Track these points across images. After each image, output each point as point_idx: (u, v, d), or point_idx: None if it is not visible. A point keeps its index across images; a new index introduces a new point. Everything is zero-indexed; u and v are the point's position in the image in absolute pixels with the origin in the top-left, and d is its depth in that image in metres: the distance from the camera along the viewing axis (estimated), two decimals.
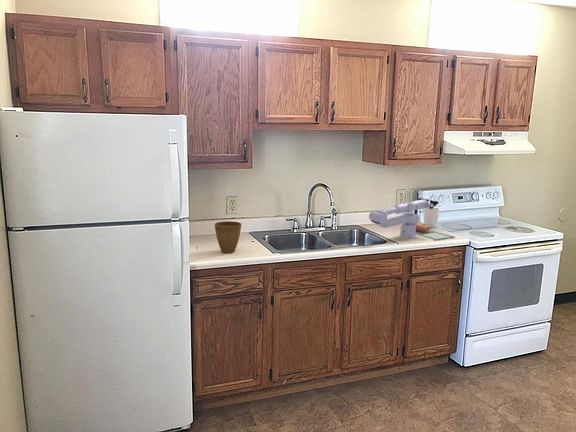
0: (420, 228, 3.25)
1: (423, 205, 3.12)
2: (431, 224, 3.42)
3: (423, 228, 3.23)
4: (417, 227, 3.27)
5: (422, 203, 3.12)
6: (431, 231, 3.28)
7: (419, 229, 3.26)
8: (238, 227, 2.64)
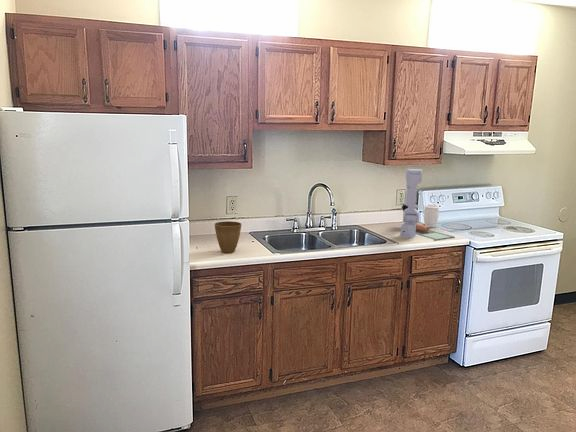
0: (420, 228, 3.25)
1: None
2: (431, 224, 3.42)
3: (423, 228, 3.23)
4: (417, 227, 3.27)
5: None
6: (431, 231, 3.28)
7: (419, 229, 3.26)
8: (238, 227, 2.64)
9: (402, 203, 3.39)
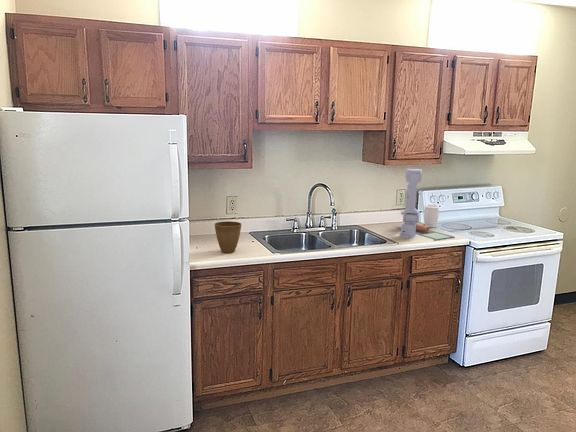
0: (420, 228, 3.25)
1: None
2: (431, 224, 3.42)
3: (423, 228, 3.23)
4: (417, 227, 3.27)
5: None
6: (431, 231, 3.28)
7: (419, 229, 3.26)
8: (238, 227, 2.64)
9: (402, 212, 3.40)
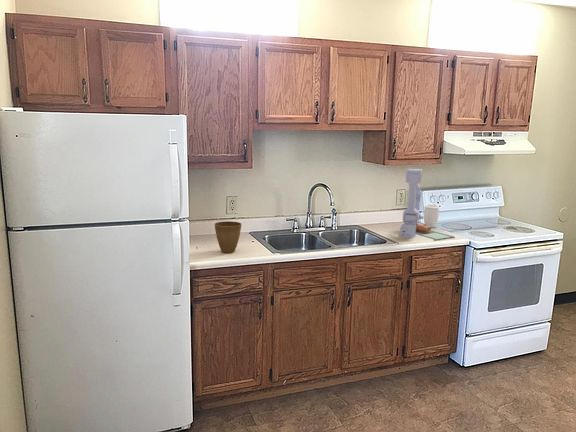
0: (421, 228, 3.24)
1: None
2: (431, 224, 3.42)
3: (424, 228, 3.22)
4: (418, 227, 3.27)
5: (418, 210, 3.29)
6: (431, 231, 3.28)
7: (420, 229, 3.25)
8: (238, 227, 2.64)
9: None
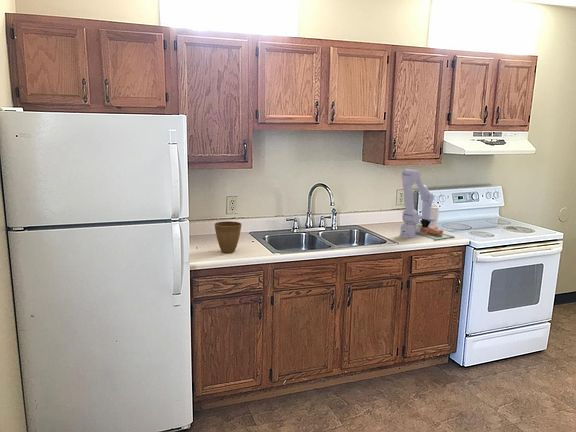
0: (433, 231, 3.16)
1: (429, 214, 3.20)
2: (431, 224, 3.42)
3: (436, 232, 3.13)
4: (430, 230, 3.18)
5: (430, 213, 3.21)
6: None
7: (432, 233, 3.16)
8: (238, 227, 2.64)
9: None
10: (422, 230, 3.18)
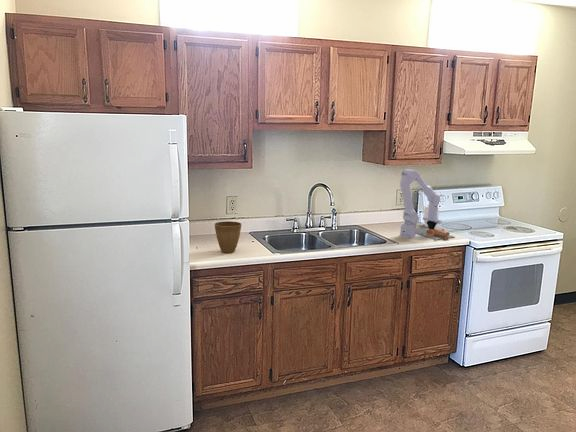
0: (439, 233, 3.11)
1: (435, 216, 3.15)
2: None
3: (443, 233, 3.09)
4: (436, 232, 3.13)
5: (436, 214, 3.16)
6: None
7: (438, 234, 3.12)
8: (238, 227, 2.64)
9: (424, 218, 3.23)
10: (428, 232, 3.14)
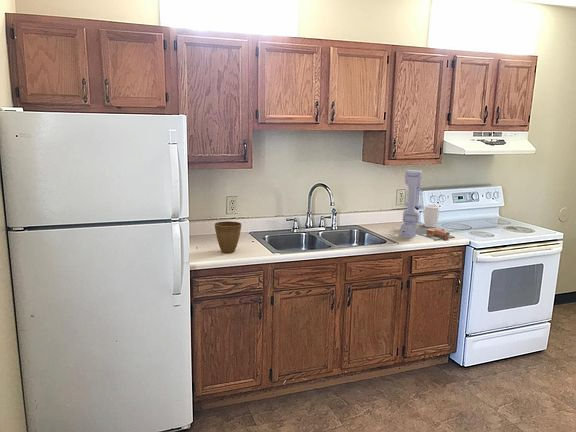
0: (440, 233, 3.11)
1: (417, 201, 3.27)
2: (431, 224, 3.42)
3: (443, 233, 3.09)
4: (436, 232, 3.13)
5: (418, 200, 3.27)
6: None
7: (438, 234, 3.12)
8: (238, 227, 2.64)
9: (406, 203, 3.34)
10: (428, 232, 3.14)
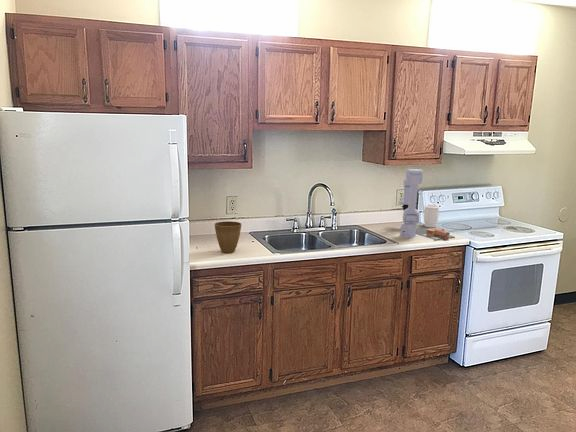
0: (440, 233, 3.11)
1: None
2: (431, 224, 3.42)
3: (443, 233, 3.09)
4: (436, 232, 3.13)
5: None
6: None
7: (438, 234, 3.12)
8: (238, 227, 2.64)
9: (399, 202, 3.38)
10: (428, 232, 3.14)
